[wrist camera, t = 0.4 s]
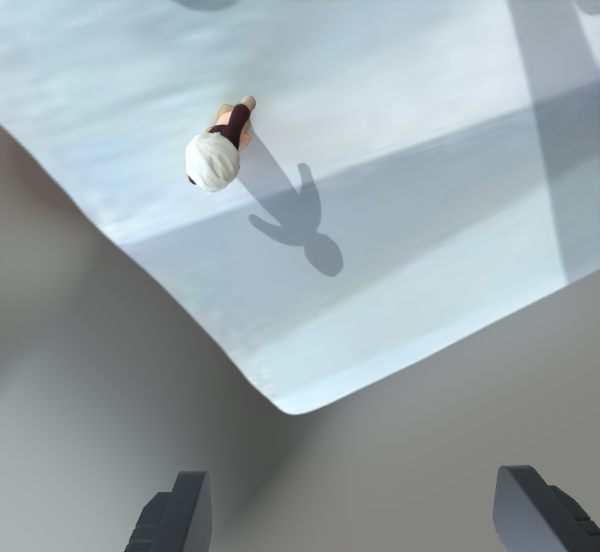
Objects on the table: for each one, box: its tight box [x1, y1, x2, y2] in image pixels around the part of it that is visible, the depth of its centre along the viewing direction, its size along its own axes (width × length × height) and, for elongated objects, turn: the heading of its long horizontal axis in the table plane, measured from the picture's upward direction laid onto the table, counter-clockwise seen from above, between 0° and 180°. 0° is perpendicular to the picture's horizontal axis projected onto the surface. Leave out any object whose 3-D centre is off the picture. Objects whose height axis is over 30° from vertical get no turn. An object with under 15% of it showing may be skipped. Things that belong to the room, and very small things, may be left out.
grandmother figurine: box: [186, 95, 256, 192], centre depth 30 cm, size 8×4×13 cm, turn 150°
